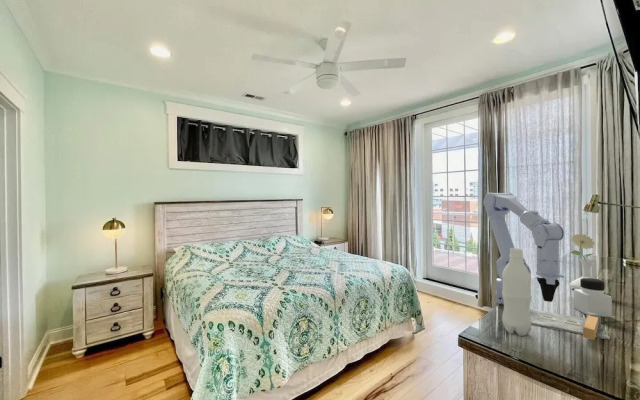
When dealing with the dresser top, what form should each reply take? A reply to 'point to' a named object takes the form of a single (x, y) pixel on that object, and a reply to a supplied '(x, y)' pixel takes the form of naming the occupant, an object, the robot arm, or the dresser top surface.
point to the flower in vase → (584, 243)
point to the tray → (562, 322)
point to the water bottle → (516, 294)
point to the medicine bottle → (592, 298)
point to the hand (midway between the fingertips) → (547, 300)
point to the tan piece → (591, 325)
